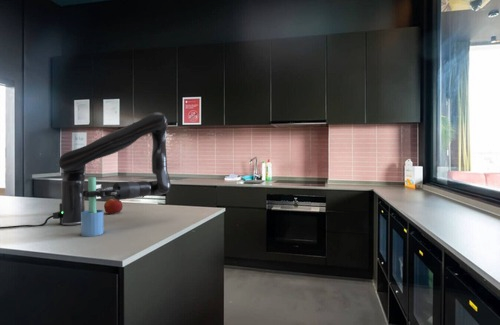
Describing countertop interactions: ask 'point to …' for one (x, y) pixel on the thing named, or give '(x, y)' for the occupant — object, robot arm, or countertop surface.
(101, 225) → the cup
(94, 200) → the mint green tapered cylinder
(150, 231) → the countertop surface
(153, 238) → the countertop surface
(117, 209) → the tomato
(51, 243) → the countertop surface
